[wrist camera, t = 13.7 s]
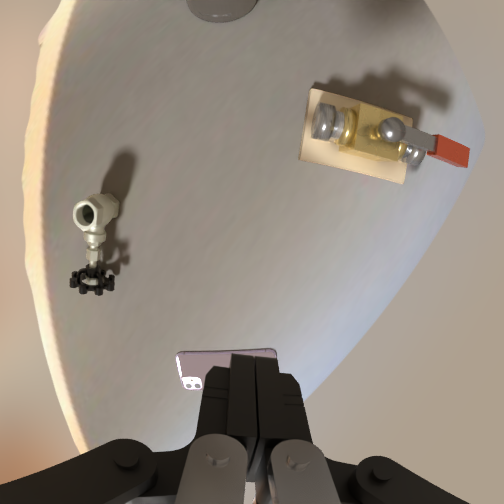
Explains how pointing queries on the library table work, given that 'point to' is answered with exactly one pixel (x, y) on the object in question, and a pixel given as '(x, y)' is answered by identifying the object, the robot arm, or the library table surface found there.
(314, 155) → the pipe board
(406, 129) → the valve lever
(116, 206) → the valve
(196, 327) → the library table surface
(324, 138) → the valve body
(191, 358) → the mobile phone
